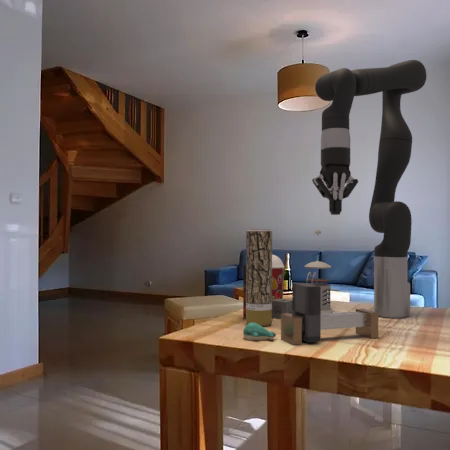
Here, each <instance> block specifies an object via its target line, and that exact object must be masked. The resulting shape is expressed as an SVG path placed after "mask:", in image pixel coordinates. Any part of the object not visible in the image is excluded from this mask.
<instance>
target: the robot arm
mask: <svg viewBox="0 0 450 450" xmlns="http://www.w3.org/2000/svg"><path fill="white" fill-rule="evenodd" d="M426 82H427V69H426V67H425V65H424V64H423V63H422V62H421V61H420V60H418V59H417V60H416V59H410V60H404V61H402V62H401V61H400V62H398V63H395V64H391V65H389V66H386V67H370V68H369V67H368V68H356V69H352V70H351V69H349V68H347V67H343V68H339V69H336V70H332V71H330V72H327V73H324V74H323V75H320V77H319V78H318V79H317V80H316V82H315V87H314V89H315V94H316V95H317V96H318V98H319V99H321V100H323V101H326V102H331V101H332V102H331V104H330V105H329V106H328V107H326V108H325V109H323V111H322V113H321V135H320V165H321V166H320V167H321V169H320V172H319V174H318V175H317V176H316V177H315V178H312V180H311V181H312V183H313V185H314V186H315V188H316V189H317V191H318V193H319V194H320V195H321V196H322V198H325V199H327V200H328V201H329V202H328V203H329V204H328V205H329V206H328V209H329V213H330V215H333V216H337V215H338V216H340V215H341V213H342V210H343V209H342V208H343V207H342V202H343V199H346V198H349V197H350V195H351V194H352V192H353V191H354V189H355V188H356V186H357V185H358V183H359V180H358V178H354V177H353V176H352V175H351V170H350V166H351V135H350V134H351V133H350V114H351V109H352V107H353V102H354V98H355V97H361V96H368V95H374V94H378V93H381V92H382V93H381V94H382V106H381V108H382V115H381V125H380V136H379V143H378V152H377V163H376V164H377V165H376V171H375V172H376V174H375V181H374V187H373V193H372V197H371V202H370V207H369V210H368V211H369V212H368V221H369V224H370V227H371V229H372V230H373V231H374V232H376V233H379V234H383V238H382V240H381V242H380V243H378V244H377V245H375V247H374V249H373V253H374V254H373V300H374V301H373V312H377V313H378V317H382V318H391V319H394V318H395V319H400V318H401V319H402V318H407V317H411V283H410V282H408V252H409V249H410V247H411V239H412V223H413V220H412V213H411V209H410V207H409V206H408V205H407V204H406V203H404V202H403V201H395V197H396V190H397V187H398V184H399V182H400V180H401V178H402V176H403V175H404V173H405V171H406V169H407V167H408V165H409V164H410V160H411V156H412V148H413V147H412V145H413V135H412V132H411V129H410V128H409V125H408V124H407V122H406V121H405V118H404V116H403V115H402V111H401V99H402V95H405V94H406V95H407V94H410V93H414V92H416V91H419V90H421V89H422V88H423V87H424V86H425V84H426Z"/></svg>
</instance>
